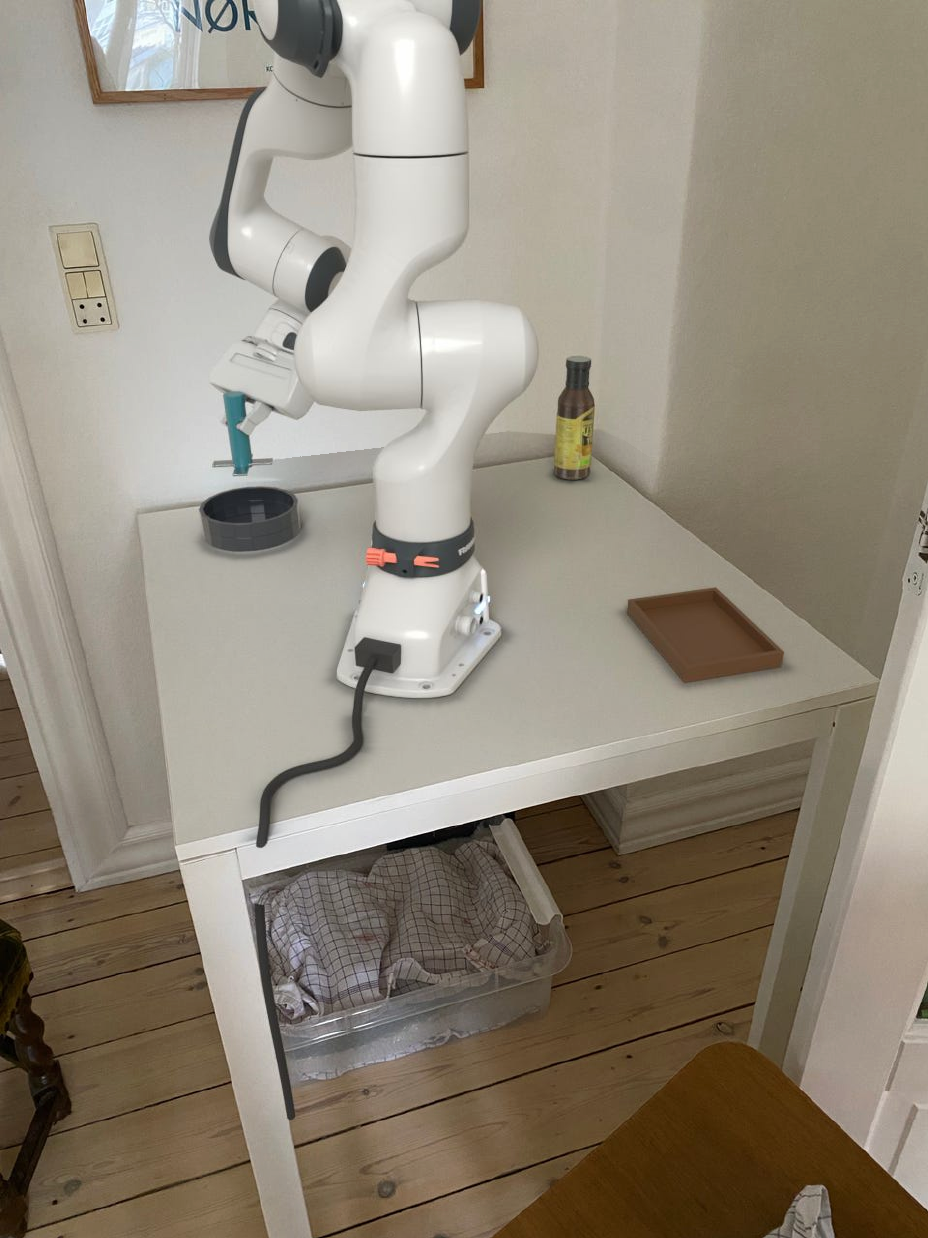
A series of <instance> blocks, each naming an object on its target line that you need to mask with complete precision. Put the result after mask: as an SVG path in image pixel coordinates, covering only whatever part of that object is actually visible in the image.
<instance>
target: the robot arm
mask: <svg viewBox="0 0 928 1238" xmlns="http://www.w3.org/2000/svg"><path fill="white" fill-rule="evenodd" d="M482 1H483V0H251V3H252V8H253V12H254V15H255V19H256V23H257V26H258V29H259V32H260V35H261V37H262V39H263V41H264V42H265V43H266V44H267V45H268V46H269V47H270V48H271V50H273V57H272V58H273V59H272V70H271V75H270V76H271V77H270V79H269V82H268V85H267V86H261V87H258V88H257V89H256V90H254V91H253V92H252V94H250V96H249V97H248V99H247V100H246V102H245V103H244V105H243V108H242V110H241V113H240V116H239V119H238V122H237V126H236V129H235V133H234V137H233V142H232V146H231V151H230V157H229V160H228V161H229V162H228V165H227V170H226V174H225V178H224V185H223V189H222V192H221V193H222V194H221V198H220V201H219V205H218V208H217V210H216V212H215V215H214V218H213V220H212V224H211V227H210V231H209V235H208V241H209V247H210V250H211V254H212V256H213V259H214V261H215V263H216V265H217V267H218V268H219V269H220V270H221V271H222V272H225V273H227V274H230V275H232V276H234V277H236V278H238V279H240V280H243V281H246V282H248V283H250V284H252V285H254V286H255V287H257V288H259V289H261V290H263V291H264V292H266V293H268V294H270V295H271V296H273V297H275V298H278V299H276V301H275V302H274V303H272V304H271V305H270V306H269V308H268V309H267V311H266V312H265V314H264V316H263V317H262V319H261V320H260V322H259V324H258V326H257V327H256V329H255V330H254V332H253V333H252V335H247V336H246V337H244V338H242V339H241V340H240V339H239V340H238V341H236V342H234V343H232V344H231V345H230V346H229V347H228V348H227V349H226V351H225V352H223V355H222V356H221V357H220V358H219V360H217V363H216V364H215V365H214V367H213V368H212V370H211V371H210V374H209V376H208V377H209V378H208V382H209V384H210V385H212V386H213V387H214V388H215V389H216V390H218V391H219V392H220V393H222V395H223V394H224V393H227V392H232V391H239V392H243V393H244V400H245V404H246V403H248V404H251V405H252V406H251V408H252V409H251V411H250V412H249V413H248V414H246V415H247V416H246V417H245V418H244V417H241V419H240V420H239V423H238V424H237V425H236V428H237V429H238V430H239V431H241V432H242V433H244V434H246V435H249V436H251V435H252V433H253V432H254V430H255V428H256V427H257V426H258V425H259V424H261V423H262V422H264V421H265V420H266V419H268V417H269V416H270V414H272V413H271V412H273V413H275V414H278V415H281V416H283V417H284V416H285V417H287V418H288V419H293V420H296V421H298V420H300V419H302V418H304V416H306V415H307V414H308V412H309V411H310V409H311V408H312V406H313V405H314V403H316V404H317V405H319V406H324V407H330V408H336V409H342V410H349V411H357V412H367V411H368V412H371V411H389V410H390V411H391V410H409V409H411V410H412V409H420V410H425V412H424V415H423V416H422V418H421V420H420V421H419V422H418V424H416V426H415V427H413V428H412V429H410V430H408V431H407V432H405V433H404V434H402V435H400V436H397V437H396V438H395V439H393V440H391V441H390V442H388V443H387V444H386V445H385V446H384V447H383V448H382V449H381V450H380V452H379V453H378V454H377V456H376V458H375V460H374V463H373V466H372V483H373V485H372V486H373V499H374V502H373V503H374V516H375V519H374V521H373V523H372V531H371V535H370V546H371V547H368V548H367V549H366V554H365V563H366V564H367V570H366V574H365V577H364V581H363V584H362V591H361V595H360V599H359V601H358V602H359V603H358V608H357V609H356V610H355V611H354V613H353V617H352V619H351V623H350V626H349V629H348V633H347V636H346V638H345V642H344V645H343V647H342V651H341V654H340V658H339V661H338V665H337V667H336V680H338V681H339V682H341V683H342V684H344V685H346V686H348V687H350V688H353V689H354V690H355V691H354V696H353V705H352V706H353V708H352V715H351V727H352V734H353V735H352V736H353V740H352V743H351V744H350V746H348V747H347V749H345V750H344V751H342V752H341V753H340V754H337V755H335V756H333V757H330V758H325V759H322V760H317V761H312V762H307V763H304V764H299V765H297V766H293V767H291V768H287V769H285V770H284V771H282V772H280V773H279V774H277V775H276V776H275V777H273V778H272V780H270V781H269V782H268V784H266V786H265V787H264V789H263V790H262V793H261V796H260V800H259V801H260V802H259V818H258V819H259V820H258V827H257V834H256V842H255V846H256V848H258V849H262V848H265V847H266V846H267V844H268V837H269V831H270V824H271V822H270V821H271V805H272V804H271V803H272V798H273V795H274V793H275V792H276V791H277V790H278V789H279V788H280V787H281V786H282V785H283V784H285V782H287V781H289V780H290V779H293V778H295V777H298V776H301V775H304V774H308V773H314V772H317V771H322V770H328V769H330V768H334V767H337V766H339V765H342V764H344V763H346V762H347V761H349V760H350V759H352V758H353V757H354V756H355V755H356V754H357V753H358V752H359V751H360V749H361V747H362V744H363V742H364V741H363V740H364V735H363V729H362V712H363V702H364V694H365V692H366V693H369V694H375V695H382V696H388V697H396V698H407V699H409V698H410V699H431V698H432V699H433V698H439V697H445V696H449V695H452V694H453V693H454V692H456V691H457V689H458V688H459V687H460V686H461V684H462V683H463V682H464V681H465V680H466V679H467V677H468V676H469V675H470V674H471V673H472V672H473V671H474V669H475V668H476V667H477V665H479V663H480V662H481V661H482V659H483V658H484V657H485V656H486V655H487V654H488V652H490V650H491V649H492V648H493V646H494V645H496V643H497V642H498V640H499V639H500V638H501V637H502V627H501V625H500V624H499V623H497V622H496V621H494V620H492V619H491V618H490V612H489V611H490V610H489V603H490V601H491V596H489V591H488V590H489V589H488V588H489V587H488V575H487V571H486V570H485V568H484V567H483V566H482V565H481V564H480V563H479V561H478V560H477V559H476V557H475V554H474V553H475V547H476V546H475V542H476V530H475V522H474V519H473V518H472V516H471V503H472V502H471V500H472V498H471V497H472V481H473V471H474V463H475V458H476V455H477V451H478V449H479V446H480V444H481V441H482V439H484V436H485V434H486V432H487V430H488V429H489V427H490V426H491V424H492V423H493V422H494V421H495V419H496V418H497V417H498V416H499V415H500V413H502V411H503V410H504V409H506V408H507V407H508V406H509V405H510V404H511V403H512V402H514V401H515V400H517V399H518V398H519V397H521V395H523V394H524V392H526V390H527V389H528V387H529V386H530V384H531V382H532V381H533V379H534V377H535V374H536V371H537V368H538V364H539V359H540V357H539V356H540V347H539V341H538V336H537V333H536V330H535V328H534V325H533V323H532V321H531V320H530V319H529V317H528V315H527V314H526V312H525V311H523V310H522V309H521V308H520V307H519V306H517V305H513V304H507V303H502V302H499V301H491V300H485V299H480V298H479V299H478V298H470V299H468V298H466V299H465V298H464V299H442V300H441V299H439V300H438V299H437V300H415V299H410V298H409V297H408V296H409V292H410V290H411V288H412V286H413V284H414V282H415V281H416V280H417V279H418V278H419V277H420V276H421V275H423V274H424V273H426V272H427V271H429V270H430V269H433V268H434V267H437V266H438V265H440V264H442V263H444V262H445V261H446V260H448V259H450V258H451V257H453V255H455V254H456V253H457V252H458V251H459V249H460V248H461V247H462V246H463V244H464V242H465V241H466V238H467V236H468V233H469V229H470V152H469V151H470V137H469V133H470V132H469V116H468V104H467V93H466V86H465V79H464V72H463V66H462V60H461V56H462V55H463V54H465V53H466V51H467V50H468V49H469V48H470V45H471V44H472V42H473V40H474V39H475V36H476V34H477V32H478V29H479V26H480V25H479V24H480V21H481V14H482ZM349 149H352V163H353V180H354V181H353V183H354V185H353V186H354V226H353V227H354V228H353V239H352V245H351V247H350V246H349V245H348V244H347V243H345V242H344V241H343V240H341V239H339V238H337V237H335V236H333V235H328V234H327V235H319V234H318V233H316V232H314V231H313V230H311V229H308V228H306V227H303V225H300V224H299V223H297V222H295V221H294V220H292V219H289V218H288V217H286V216H284V215H282V214H280V213H279V212H278V211H276V210H274V208H272V206H270V204H269V203H268V202H267V200H266V199H265V198H266V197H265V192H266V188H267V184H268V180H269V177H270V172H271V170H272V165H273V162H274V158H276V157H281V158H282V157H283V158H284V157H285V158H292V159H298V160H303V161H320V160H326V159H331V158H335V157H337V156H339V155H342V154H343V153H345V152H347V151H348V150H349ZM219 422H220V423H221V424H222V425H223V426H225V427H226V428H228V426H227V419H226V412H225V411H224V412H223V414H222V415H221V417H220V418H219ZM253 905H254V921H255V923H254V925H255V938H256V947H257V956H258V964H259V973H260V979H261V985H262V992H263V997H264V1002H265V1003H264V1004H265V1008H266V1014H267V1020H268V1024H269V1030H270V1035H271V1040H272V1045H273V1049H274V1054H275V1059H276V1064H277V1068H278V1073H279V1078H280V1084H281V1090H282V1095H283V1101H284V1107H285V1113H286V1119H287V1120H288V1121H293V1120H294V1119H295V1118H296V1110H295V1103H294V1097H293V1091H292V1085H291V1080H290V1073H289V1069H288V1068H289V1067H288V1063H287V1059H286V1053H285V1048H284V1043H283V1037H282V1033H281V1028H280V1022H279V1017H278V1012H277V1006H276V1001H275V996H274V995H275V994H274V989H273V983H272V974H271V967H270V966H271V965H270V960H269V949H268V938H267V926H266V905H265V904H260V903H255V902H254V903H253Z"/></svg>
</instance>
